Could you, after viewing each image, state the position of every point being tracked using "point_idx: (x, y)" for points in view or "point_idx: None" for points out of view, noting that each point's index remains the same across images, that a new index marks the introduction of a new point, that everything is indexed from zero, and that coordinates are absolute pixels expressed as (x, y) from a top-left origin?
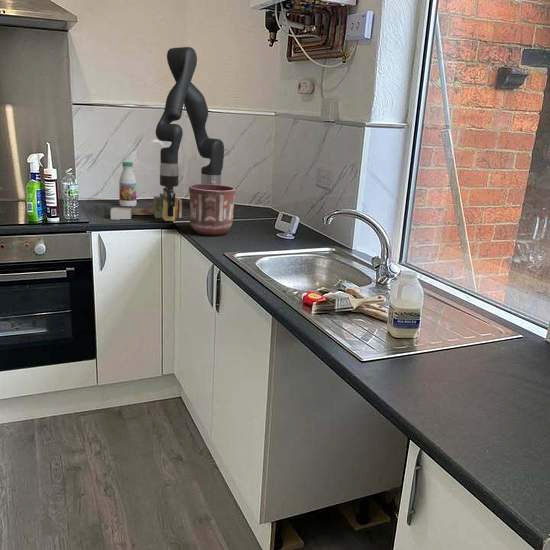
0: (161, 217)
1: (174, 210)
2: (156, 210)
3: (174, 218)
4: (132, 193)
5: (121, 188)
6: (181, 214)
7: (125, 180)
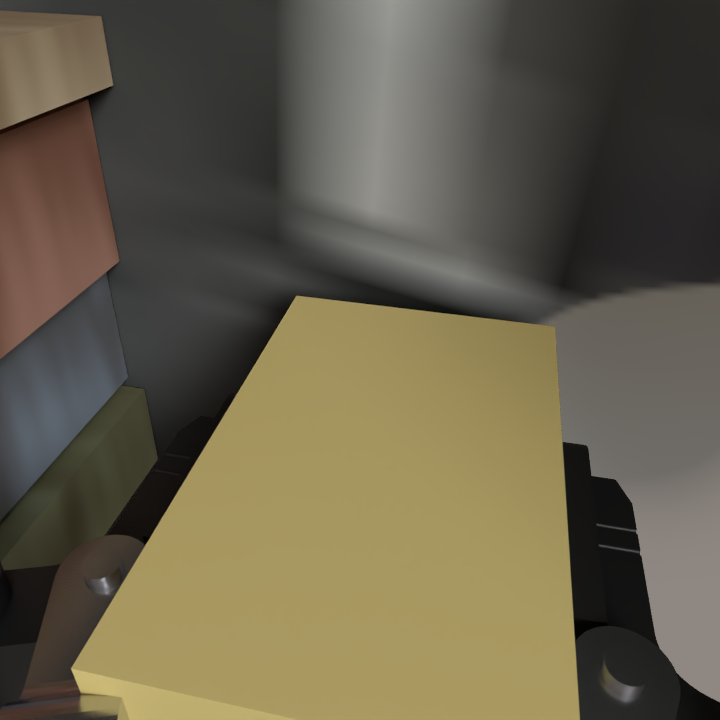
0: (135, 402)
1: (560, 501)
2: None
3: (554, 364)
4: None
5: None
6: (39, 39)
7: None
